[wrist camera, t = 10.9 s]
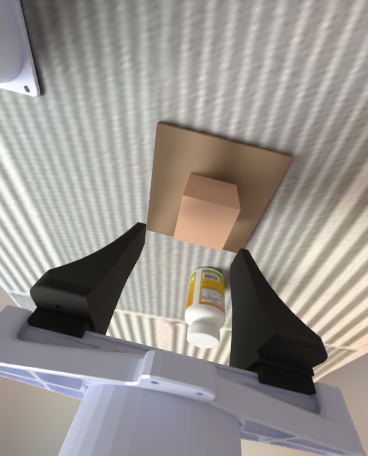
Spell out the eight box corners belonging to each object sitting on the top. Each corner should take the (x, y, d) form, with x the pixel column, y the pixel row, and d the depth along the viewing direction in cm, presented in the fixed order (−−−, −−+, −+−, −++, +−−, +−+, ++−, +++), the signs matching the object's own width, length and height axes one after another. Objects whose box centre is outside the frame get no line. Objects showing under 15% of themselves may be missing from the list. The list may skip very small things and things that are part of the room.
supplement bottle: (200, 290, 33) (194, 352, 25) (184, 271, 31) (173, 333, 23) (229, 284, 31) (232, 349, 23) (215, 262, 28) (213, 328, 21)
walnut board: (148, 226, 26) (146, 229, 25) (159, 121, 18) (157, 123, 17) (239, 249, 26) (240, 253, 25) (291, 155, 18) (293, 158, 17)
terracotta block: (181, 212, 23) (173, 238, 19) (190, 173, 20) (182, 195, 16) (221, 222, 23) (221, 251, 19) (236, 185, 20) (240, 210, 16)
